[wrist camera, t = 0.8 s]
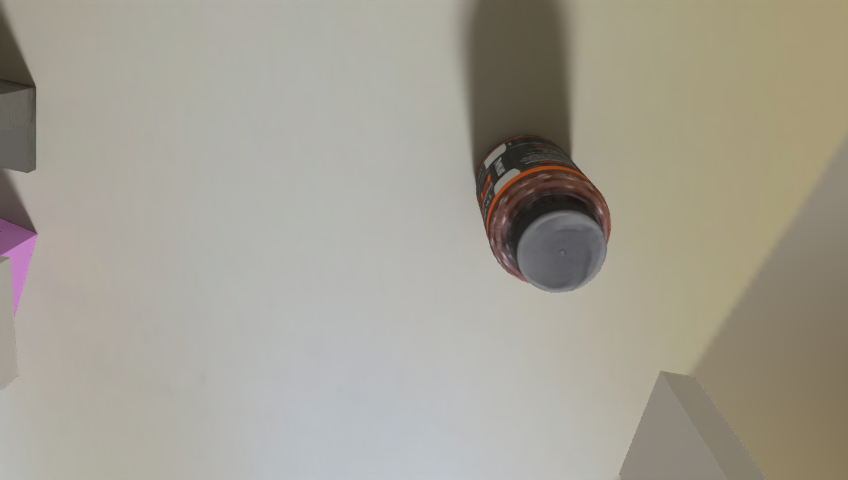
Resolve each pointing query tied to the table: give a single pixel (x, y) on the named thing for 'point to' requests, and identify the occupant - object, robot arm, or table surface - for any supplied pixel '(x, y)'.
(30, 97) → the backstop
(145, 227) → the table surface
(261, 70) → the table surface
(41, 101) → the table surface
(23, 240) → the bracket
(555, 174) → the supplement bottle
